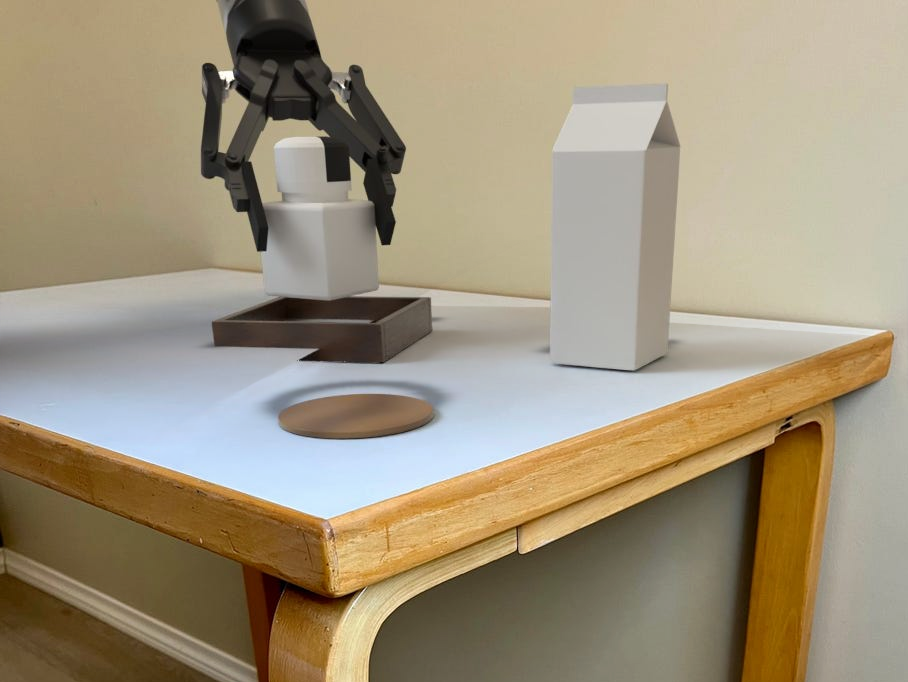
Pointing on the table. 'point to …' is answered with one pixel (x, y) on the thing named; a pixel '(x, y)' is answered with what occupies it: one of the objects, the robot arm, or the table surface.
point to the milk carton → (613, 227)
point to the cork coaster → (356, 416)
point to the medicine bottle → (318, 225)
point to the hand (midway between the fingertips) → (327, 236)
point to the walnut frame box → (330, 326)
